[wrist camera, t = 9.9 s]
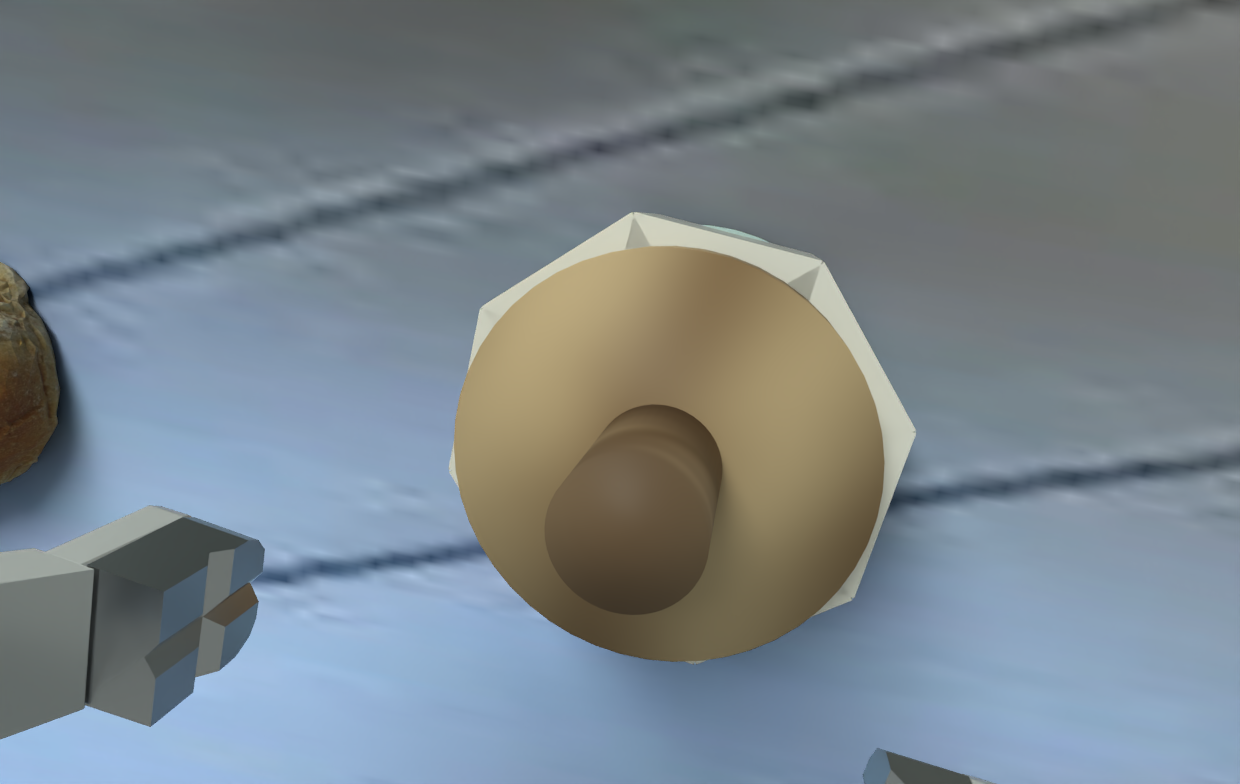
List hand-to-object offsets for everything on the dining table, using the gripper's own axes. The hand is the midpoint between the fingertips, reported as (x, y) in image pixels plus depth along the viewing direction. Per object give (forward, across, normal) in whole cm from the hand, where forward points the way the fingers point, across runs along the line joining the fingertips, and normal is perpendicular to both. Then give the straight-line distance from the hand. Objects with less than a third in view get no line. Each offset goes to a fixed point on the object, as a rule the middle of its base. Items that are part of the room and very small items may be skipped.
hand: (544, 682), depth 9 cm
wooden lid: (+9, 0, 0) cm, 9 cm away
